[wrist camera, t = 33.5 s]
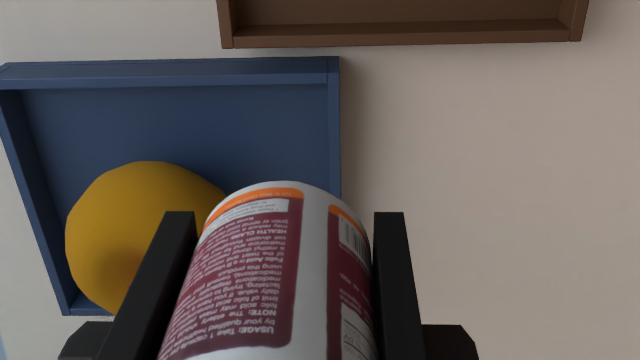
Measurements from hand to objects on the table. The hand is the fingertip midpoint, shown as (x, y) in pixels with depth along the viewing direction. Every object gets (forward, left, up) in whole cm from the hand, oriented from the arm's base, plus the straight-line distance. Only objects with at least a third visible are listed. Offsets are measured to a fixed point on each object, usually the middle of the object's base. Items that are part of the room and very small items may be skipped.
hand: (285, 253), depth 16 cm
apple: (-8, -8, -17) cm, 21 cm away
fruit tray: (-8, -8, -17) cm, 21 cm away
